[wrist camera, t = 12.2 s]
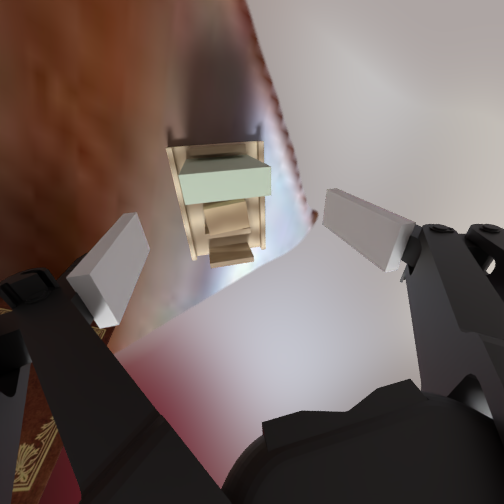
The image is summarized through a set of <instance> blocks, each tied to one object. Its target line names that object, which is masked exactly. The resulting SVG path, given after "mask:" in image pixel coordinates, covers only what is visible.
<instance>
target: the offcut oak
mask: <svg viewBox="0 0 504 504" xmlns="http://www.w3.org/2000/svg"><path fill="white" fill-rule="evenodd" d="M203 211H204V215H205V218H206V222H207V225H208V229H209V233H210V236H211V235H216V234H220V233H225V232H229V231H234V230H238V229H243V228H248V227H250V225H249V218H248V212H247V205H246V201H245V199H244V198H243V199H234V200H225V201H217V202H208V203H203Z"/></svg>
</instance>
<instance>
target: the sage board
mask: <svg viewBox="0 0 504 504" xmlns="http://www.w3.org/2000/svg"><path fill="white" fill-rule="evenodd" d="M178 176H179V180H180V185H181V189H182V194H183V198H184V202H185V205H190V204H199V203H208V202H217V201H225V200H234V199H243V198H252V197H261V196H270V195H271V166H269V165H267V164H265V163H263V162H261V161H259V160H257V159H255V158H253V157H251V156H249V155H234V156H222V157H209V158H197V159H186V161H185V163H184V165H183V167H182V169H181V171H180V173H179V175H178Z"/></svg>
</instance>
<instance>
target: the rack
mask: <svg viewBox="0 0 504 504" xmlns="http://www.w3.org/2000/svg"><path fill="white" fill-rule="evenodd" d="M166 151H167V156H168V160H169V164H170V168H171V172H172V176H173V181H174V185H175V189H176V193H177V197H178V202H179V206H180V210H181V214H182V218H183V222H184V227H185V231H186V235H187V239H188V243H189V247H190V252H191V256H192V260H197V256H200V255H207V254H209V255H210V266H211V268H216V267H222V266H229V265H235V264H241V263H247V262H253V261H254V256H253V254H252V252H251V249H250V248H253V247H261V249H262V250H264V249H266V246H265V196H261V197H252V198H245V201H246V205H247V212H248V218H249V225H250V227H248V228H243V229H238V230H234V231H229V232H225V233H220V234H216V235H211V236H210V233H209V229H208V226H207V224H206V218H205V215H204V211H203V203H199V204H190V205H185V202H184V198H183V194H182V189H181V185H180V180H179V176H178V175H179V173H180V171H181V169H182V167H183V165H184V163H185V161H186V159H197V158H209V157H222V156H234V155H249V156H251V157H253V158H255V159H257V160H259V161H261V162H263V163H264V141H249V142H234V143H220V144H206V145H191V146H177V147H167V148H166Z"/></svg>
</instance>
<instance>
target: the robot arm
mask: <svg viewBox="0 0 504 504" xmlns="http://www.w3.org/2000/svg"><path fill="white" fill-rule="evenodd" d="M322 224H323V225H324V226H325V227H327V228H328V229H329V230H330V231H332V232H333V233H334V234H336V235H337V236H338V237H340V238H341V239H342V240H343V241H345V242H346V243H347V244H349V245H350V246H351V247H353V248H354V249H355V250H356V251H358V252H359V253H360V254H362V255H363V256H364V257H366V258H367V259H368V260H369V261H371V262H372V263H373V264H375V265H376V266H377V267H378V268H380V269H381V270H382V271H384V272H389V271H395V270H397V269H398V267H399V264H400V262H401V260H402V261H404V262H405V263H407V265H406V268H405V270H404V272H403V275H402V277H401V280H400V282H403V280H405V279H406V284H407V291H408V297H409V304H410V310H411V317H412V323H413V331H414V337H415V344H416V351H417V357H418V364H419V371H420V378H421V391H420V390H419V388H418V387H417V386H416V385H415V384H414V383H413V381H412V380H411V379H408V380H404V381H401V382H397V383H394V384H390V385H387V386H384V387H380V388H377V389H376V390H375V391H373V392H372V393H371V394H370V395H368V396H367V397H366V398H365V399H363V400H362V401H361V402H359V403H358V404H357V405H356V406H354V407H353V408H352V409H350V410H349V411H346V412H329V411H299V412H296V413H293V414H289V415H286V416H282V417H279V418H275V419H272V420H269V421H265V422H262V429H263V430H262V431H263V435H262V436H260V437H259V438H257V439H256V440H255V441H254V442H253V443H252V444H250V445H249V446H248V447H247V448H246V449H245V451H244V452H243V453H242V454H241V456H240V457H239V458H238V459H237V461H236V462H235V464H234V465H233V467H232V469H231V470H230V472H229V474H228V476H227V478H226V480H225V482H224V484H223V486H222V488H221V489H220V488H219V486H218V485H217V484H216V483H215V481H214V480H213V479H212V477H211V476H210V475H209V474H208V472H207V471H206V470H205V469H204V467H203V466H202V465H201V464H200V462H199V461H198V460H197V458H196V457H195V456H194V455H193V453H192V452H191V451H190V450H189V448H188V447H187V446H186V445H185V444H184V442H183V441H182V439H181V438H180V437H179V436H178V434H177V433H176V432H175V431H174V429H173V428H172V427H171V425H170V424H169V423H168V422H167V421H166V419H165V418H164V417H163V416H162V415H160V414H159V412H158V411H157V410H156V409H155V407H154V406H153V405H152V404H151V402H150V401H149V400H148V399H147V397H146V396H145V395H144V393H143V392H142V391H141V390H140V388H139V387H138V386H137V384H136V383H135V382H134V380H133V379H132V378H131V377H130V375H129V374H128V373H127V371H126V370H125V369H124V368H123V366H122V365H121V364H120V363H119V361H118V360H117V359H116V357H115V356H114V355H113V354H112V352H111V351H110V350H109V348H108V347H107V346H106V345H105V343H104V342H103V341H102V339H101V338H100V337H99V336H98V334H97V333H96V332H95V331H94V329H93V328H92V327H91V323H92V321H93V319H94V321H95V322H96V324H97V325H98V327H99V328H106V327H111V326H116V325H119V324H120V322H121V319H122V317H123V314H124V312H125V310H126V307H127V305H128V302H129V300H130V297H131V295H132V293H133V290H134V288H135V285H136V283H137V280H138V278H139V275H140V273H141V271H142V268H143V266H144V263H145V261H146V258H147V256H148V254H149V251H150V248H149V245H148V242H147V239H146V237H145V234H144V231H143V228H142V226H141V223H140V220H139V218H138V215H137V212H134V213H126V214H123V215H122V216H121V217H120V218H119V219H118V221H117V222H116V223H115V224H114V225H113V226H112V227H111V228H110V229H109V231H108V232H107V233H106V234H105V235H104V236H103V237H102V238H101V239H100V241H99V242H98V243H97V244H96V245H95V246H94V247H93V248H92V249H91V251H90V252H89V253H86V254H84V255H83V256H81V257H79V258H78V259H76V260H75V261H74V263H73V264H72V265H71V267H69V268H68V269H67V270H66V272H64V273H63V274H62V275H61V276H60V277H59V278H58V279H57V280H55V279H54V277H53V276H52V274H51V273H50V271H49V270H48V269H46V268H33V269H28V270H25V271H22V272H19V273H17V274H15V275H12V276H10V277H8V278H6V279H5V280H3V281H1V282H0V297H1V298H2V299H3V300H4V301H5V302H6V303H7V304H8V305H9V306H10V307H11V309H12V310H13V311H10V312H7V313H4V314H1V315H0V504H11V498H12V491H13V484H14V477H15V470H16V463H17V456H18V449H19V442H20V435H21V428H22V421H23V414H24V407H25V400H26V393H27V386H28V379H29V372H30V365H31V363H33V366H34V368H35V371H36V374H37V376H38V379H39V382H40V384H41V387H42V389H43V392H44V395H45V397H46V400H47V403H48V405H49V408H50V410H51V413H52V416H53V418H54V421H55V424H56V426H57V429H58V432H59V434H60V437H61V439H62V442H63V445H64V447H65V450H66V453H67V455H68V458H69V460H70V463H71V466H72V468H73V471H74V473H75V476H76V479H77V481H78V484H79V487H80V491H81V501H80V502H79V504H504V229H502V228H500V227H498V226H495V225H491V224H473V225H471V226H470V228H469V230H468V232H467V233H466V234H458V233H457V231H455V230H454V229H453V228H450V227H447V226H444V225H440V224H426V225H423V226H422V227H421V226H418V225H416V222H414V221H411V220H409V219H407V218H404V217H402V216H400V215H397V214H395V213H393V212H390V211H388V210H386V209H383V208H381V207H379V206H376V205H374V204H372V203H369V202H367V201H364V200H362V199H360V198H358V197H355V196H353V195H351V194H348V193H346V192H344V191H342V190H339V189H327V194H326V201H325V208H324V216H323V223H322ZM493 259H494V260H495V263H496V264H495V268H494V270H493V272H492V273H491V274H488V273H487V272H486V270H487V268H488V267H489V265H490V264H491V262H492V261H493Z"/></svg>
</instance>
